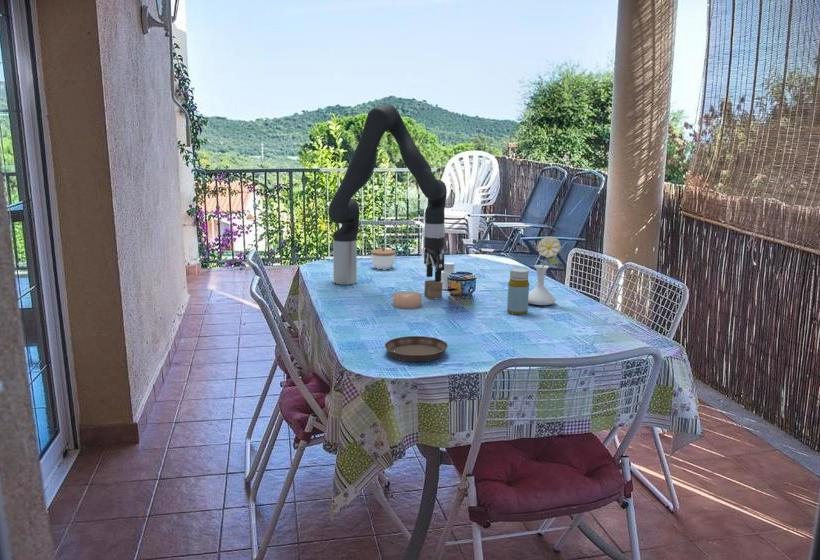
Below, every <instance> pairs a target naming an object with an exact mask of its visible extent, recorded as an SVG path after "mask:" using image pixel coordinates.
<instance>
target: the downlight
mask: <svg viewBox="0 0 820 560" xmlns="http://www.w3.org/2000/svg"><path fill="white" fill-rule="evenodd" d="M451 273H456V274H457V271H455V262H444V271H441V281H440V282H442V290H445V289H447V277H448V276H449V275H450V274H451ZM443 288H444V289H443Z"/></svg>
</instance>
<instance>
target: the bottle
mask: <svg viewBox="0 0 820 560" xmlns="http://www.w3.org/2000/svg"><path fill="white" fill-rule="evenodd" d="M509 271H510V272H509V280H508V283H507V305H506V306H507V307H506V311H507V312H508V314H510V313H513V314H512V315H514V314H524V315H526V314H527V313H528V312H529V311H528V309H529V303H528V296H529V292H530V282H529V272H530V271H529V269H527V268H523V267H521V268H520V267H514V268H511V269H510V270H509ZM525 313H526V314H525Z"/></svg>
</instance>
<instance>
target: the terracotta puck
mask: <svg viewBox="0 0 820 560" xmlns="http://www.w3.org/2000/svg"><path fill="white" fill-rule="evenodd" d="M392 296H393V299H392V301H393V302H392V306H393V307H395V308H396V309H397V308H398V309H403V310H405V309H406V310H411V309H412V310H413V309H418V308H421V307H422V303H423V302H422V300H423V299H422V296H423V295H422V293H420V292H418V291H417V292H416V291H411V290H410V291H409V290H408V291H407V290H406V291H397V292H394V293H393V295H392Z"/></svg>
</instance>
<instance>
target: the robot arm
mask: <svg viewBox="0 0 820 560" xmlns="http://www.w3.org/2000/svg"><path fill="white" fill-rule="evenodd" d="M363 125H364V126H363V129H362V132H361V136H360V138H359V140H358V143H357V145H356V146H355V147H356V148H355V150H354V152H353V155H352V156H351V159H350V161H349V164H348V166H347V168H346V171H345V174H344V176H343V179H342V181H341V183H340V185H339V187H338V188H337V190H336V193H335V194H334V196H333V198H332V200H331V202H330V203H329V207H328V218H329V220H330V221H331V222H332V223H335V224H342V225H341V227H339V229H337V230H335V231H334V232H333V234H332V235H333V236H332V240H333V241H332V246H333V247H332V250H333V251H332V252H333V253H332V254H333V256H332V261H333V262H332V263H333V264H332V265H333V268H332V269H333V270H332V271H333V273H332V274H333V278H332V280H333V281H332V283H333V282H334V283H333V284H335V283H336V284H335V285H340V286H344V285H345V286H348V285H355V284H357V278H358V277H357V273H358V271H357V270H358V269H357V264H358V261H357V260H358V259H357V258H358V256H357V255H358V250H357V249H358V247H357V246H358V244H357V243H358V242H357V241H358V234H359V229H360V228H359V227H360V206H359V203H358V201H356V200H355V198H353V197H354V195H356V193H357V192H359V191H360V190H361V189H362V188H363V187H364V186H365V185H366V184H367V183H368V181H370V179H371V177H372V175H373V173H374V170H375V167H377V166H376V165H377V160H378V159H377V149H378V146H379V144H380V141H381V140H382V138H383V136H384V134H385V133H386V132H389V134H391V136H392V137H393V138H394V140H395V142H396V144H397V146H398V149H399V152H400V156H401V158H402V161H403V163H404V165H405V167H406V168H407V169H408V171H409V172H410V174H411V175H412V176H413V178H414V179H415V181H416V183H417V185H418V187H419V189H420V191H421V192H422V194H423V195H424V196H425V198H427V205H426V208H425V211H424V228H423V248H424V252H423V253H424V255H423V256H424V257H423V264H424V265H425V267H426V275H425V276H426V277H427V278H433V275H434V280H435V281H436V282H441V271H444V263H445V254H444V253H441V250H443V249H445V245H446V244H445V242H446V239H445V238H446V237H445V236H446V228H445V227H446V225H445V210H446V209H445V207H446V201H447V192H448V189H447V185H446V184H445V182H444V181H443V180H441V179H438V178H436V177H435V175H434V173H433V172H432V167H431V165H430V164H429V162H428V161H427V159H426V158H425V156H424V155H423V153H421V151H420V149H419V148H418V146H417V145H416V143H415V142H414V140H413V138H412V136H411V133H410V132H409V130H408V128H407V126H406V125H405V122H404V120H403V119H402V117H401V115H400V112H399V111H398V109H397V108H396V107H395V106H394V105H392V104H390V103H384V104H383V103H382V104H381V105H377V106H374V107H373V108H371V109H370V110H369V112H368V113H367V116H366V118H365V121H364V124H363ZM433 268H434V269H433ZM433 273H434V274H433Z"/></svg>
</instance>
